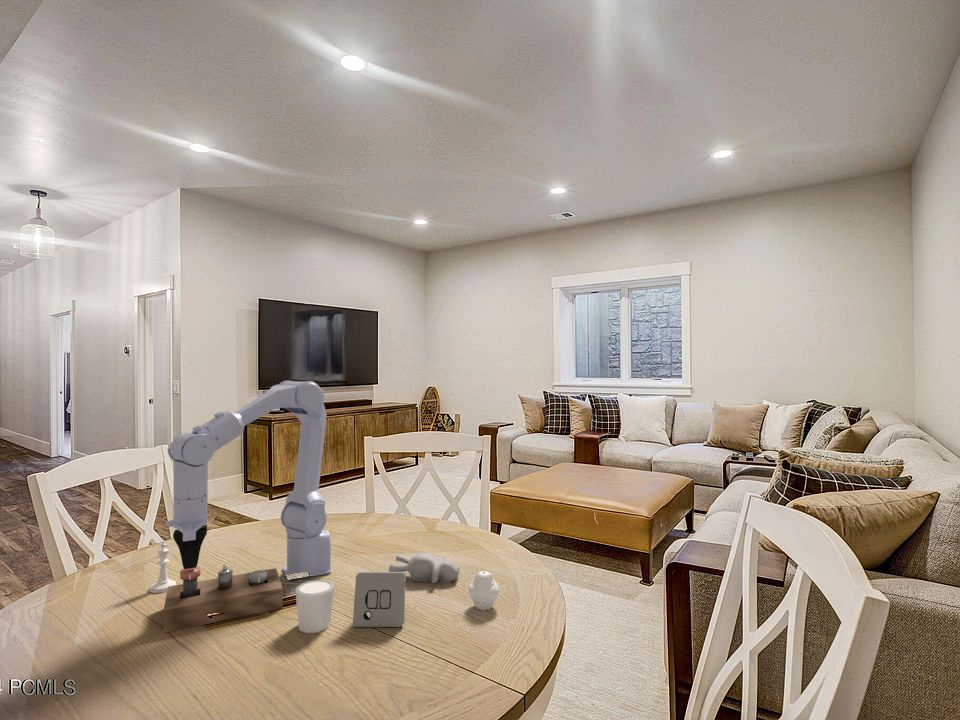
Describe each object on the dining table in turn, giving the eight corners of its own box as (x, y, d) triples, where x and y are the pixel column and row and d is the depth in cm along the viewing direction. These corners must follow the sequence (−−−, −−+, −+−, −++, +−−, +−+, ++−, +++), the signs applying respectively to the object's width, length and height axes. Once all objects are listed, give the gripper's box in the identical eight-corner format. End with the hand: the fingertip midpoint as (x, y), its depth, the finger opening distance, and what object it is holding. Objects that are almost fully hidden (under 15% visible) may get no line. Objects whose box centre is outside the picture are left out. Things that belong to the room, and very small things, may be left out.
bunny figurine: (456, 570, 111) (388, 559, 112) (453, 594, 111) (385, 582, 112) (462, 554, 120) (399, 544, 121) (459, 576, 120) (397, 565, 122)
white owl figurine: (484, 617, 98) (484, 580, 98) (461, 607, 102) (461, 571, 102) (505, 606, 103) (505, 570, 103) (482, 596, 107) (482, 562, 107)
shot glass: (341, 619, 97) (341, 582, 97) (318, 637, 91) (319, 597, 91) (311, 613, 100) (311, 577, 100) (286, 630, 93) (287, 591, 93)
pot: (232, 583, 104) (232, 562, 104) (232, 588, 101) (232, 566, 101) (217, 586, 102) (217, 564, 102) (217, 591, 100) (217, 568, 100)
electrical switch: (352, 628, 94) (353, 575, 95) (358, 617, 99) (360, 567, 100) (403, 628, 94) (404, 575, 95) (407, 617, 99) (408, 567, 100)
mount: (276, 586, 111) (276, 568, 111) (282, 608, 102) (282, 587, 102) (167, 606, 102) (167, 586, 102) (163, 632, 92) (163, 610, 92)
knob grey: (266, 594, 107) (266, 569, 107) (268, 601, 104) (268, 575, 104) (248, 597, 105) (248, 572, 105) (249, 605, 102) (249, 578, 102)
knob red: (200, 591, 101) (200, 565, 101) (200, 599, 98) (200, 572, 98) (180, 595, 100) (180, 568, 100) (179, 603, 96) (179, 575, 96)
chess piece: (163, 594, 108) (164, 546, 108) (143, 592, 109) (144, 544, 109) (181, 584, 113) (182, 538, 113) (162, 582, 114) (162, 536, 114)
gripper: (169, 490, 104) (168, 558, 104) (163, 508, 91) (162, 585, 91) (208, 486, 107) (208, 552, 107) (208, 503, 94) (208, 578, 94)
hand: (190, 567), depth 99 cm, fingers closed
